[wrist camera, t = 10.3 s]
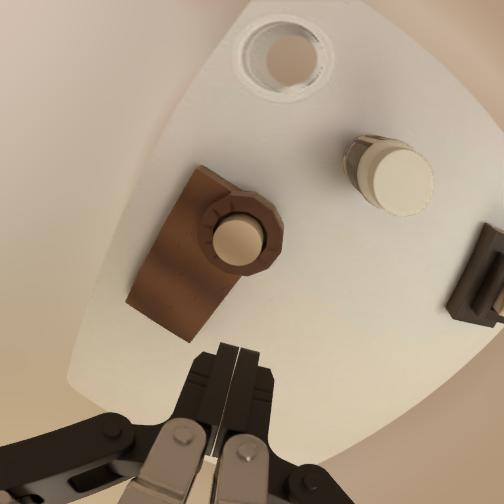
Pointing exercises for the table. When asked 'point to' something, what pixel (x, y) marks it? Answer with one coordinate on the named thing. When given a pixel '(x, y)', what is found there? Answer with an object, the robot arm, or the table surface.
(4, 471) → the robot arm
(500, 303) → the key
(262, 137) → the table surface
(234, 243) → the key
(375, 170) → the pill bottle
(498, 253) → the key box
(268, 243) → the brown flat piece
